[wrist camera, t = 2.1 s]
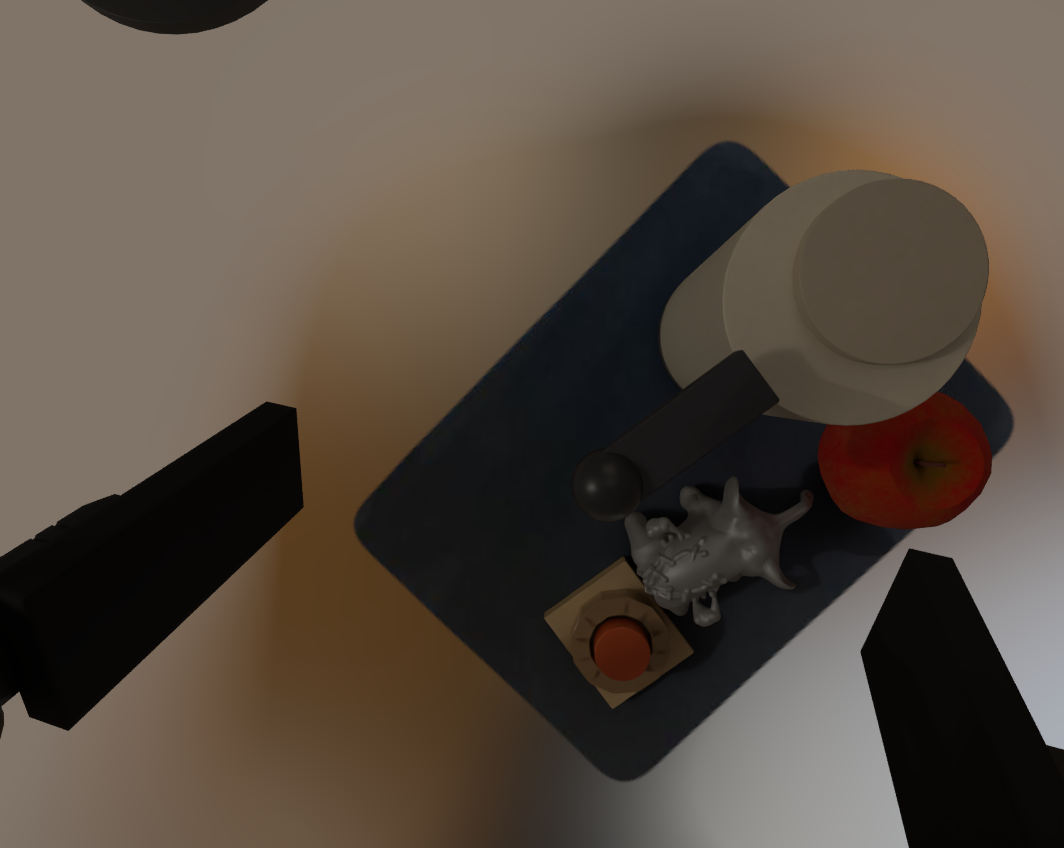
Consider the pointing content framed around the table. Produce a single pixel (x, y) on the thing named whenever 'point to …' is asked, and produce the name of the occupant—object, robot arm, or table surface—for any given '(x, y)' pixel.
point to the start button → (621, 649)
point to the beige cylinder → (837, 298)
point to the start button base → (606, 600)
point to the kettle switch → (671, 438)
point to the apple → (907, 465)
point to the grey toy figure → (709, 548)
